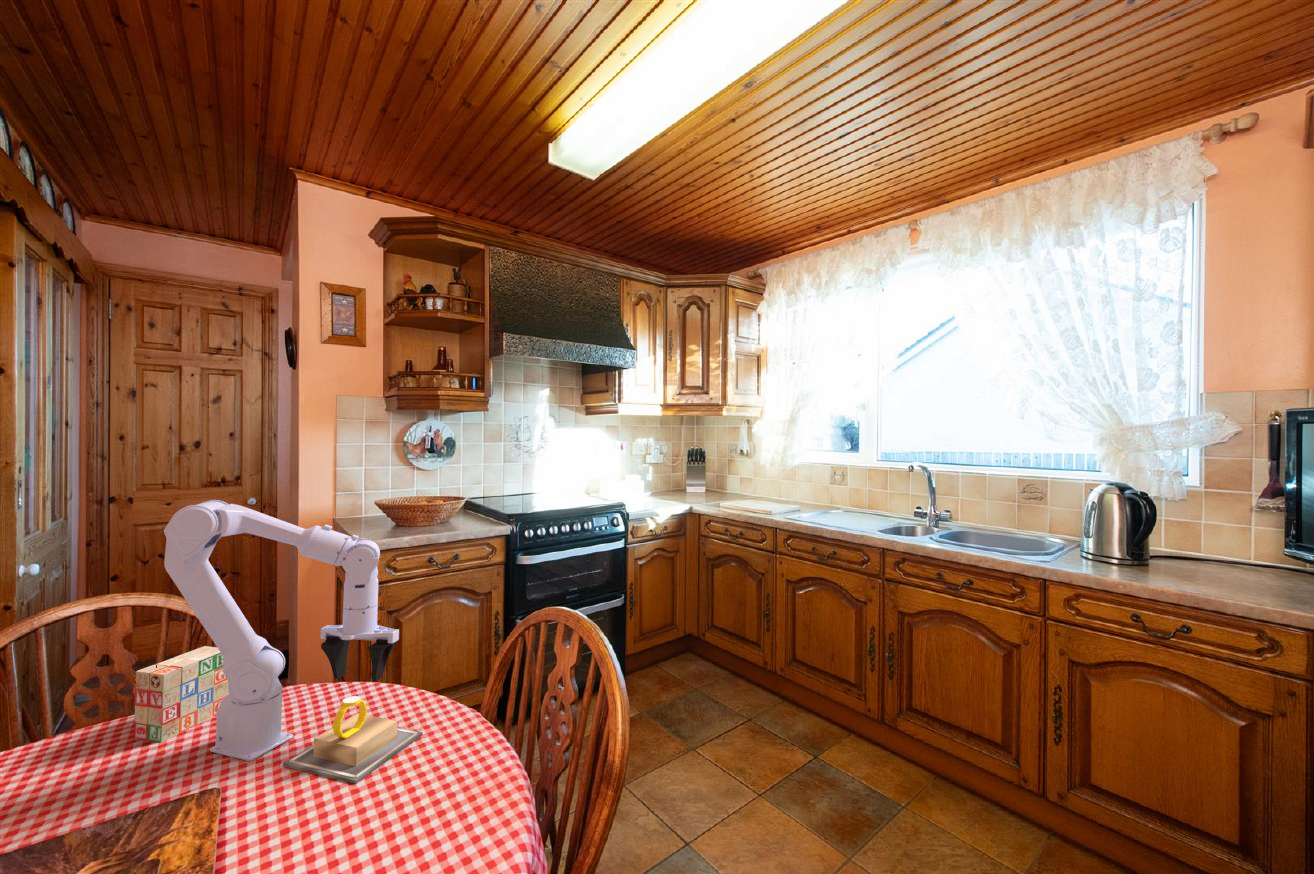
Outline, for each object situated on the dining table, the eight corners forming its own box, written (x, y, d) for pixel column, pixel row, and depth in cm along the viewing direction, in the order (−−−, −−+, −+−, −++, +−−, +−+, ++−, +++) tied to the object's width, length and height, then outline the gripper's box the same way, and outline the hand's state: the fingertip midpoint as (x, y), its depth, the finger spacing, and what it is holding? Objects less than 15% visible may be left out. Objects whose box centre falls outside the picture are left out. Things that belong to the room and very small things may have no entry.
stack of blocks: (245, 686, 117) (247, 630, 117) (269, 689, 116) (271, 632, 116) (132, 739, 96) (135, 669, 96) (160, 743, 95) (163, 673, 95)
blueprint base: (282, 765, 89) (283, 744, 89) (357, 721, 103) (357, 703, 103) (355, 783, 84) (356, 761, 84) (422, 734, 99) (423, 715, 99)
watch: (356, 726, 95) (359, 691, 96) (369, 728, 95) (372, 693, 95) (328, 741, 90) (331, 704, 90) (341, 743, 89) (344, 706, 89)
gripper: (309, 609, 98) (306, 684, 97) (383, 614, 96) (381, 690, 96) (336, 598, 105) (334, 668, 104) (406, 602, 103) (404, 673, 103)
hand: (358, 678), depth 101 cm, fingers open, 7 cm apart
